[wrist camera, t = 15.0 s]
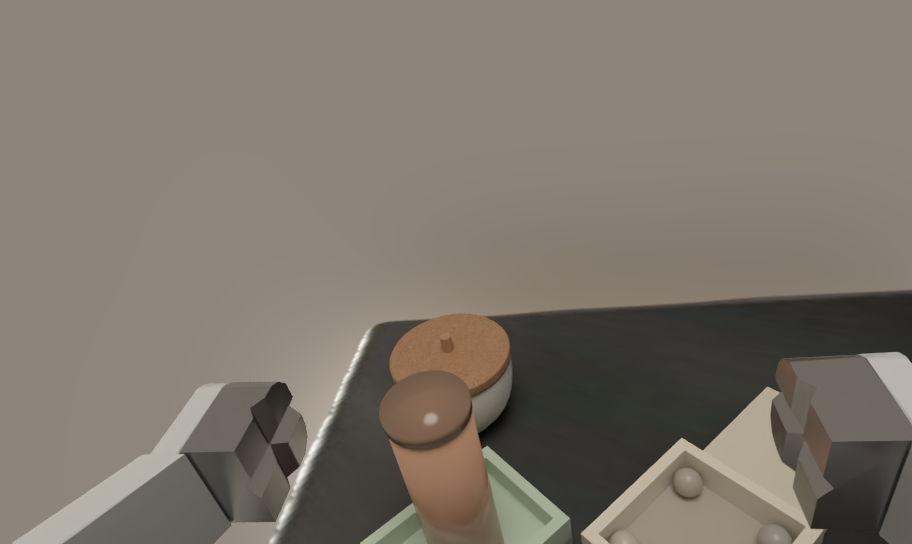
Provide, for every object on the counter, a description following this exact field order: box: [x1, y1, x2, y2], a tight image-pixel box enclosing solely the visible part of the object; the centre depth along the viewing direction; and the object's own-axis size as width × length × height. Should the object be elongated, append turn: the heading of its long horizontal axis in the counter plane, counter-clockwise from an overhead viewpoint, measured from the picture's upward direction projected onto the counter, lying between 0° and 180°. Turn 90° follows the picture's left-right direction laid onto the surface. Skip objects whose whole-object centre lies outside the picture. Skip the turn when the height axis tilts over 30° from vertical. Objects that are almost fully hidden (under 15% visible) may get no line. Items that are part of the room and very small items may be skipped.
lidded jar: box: [389, 314, 512, 433], centre depth 50 cm, size 11×11×9 cm
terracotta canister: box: [379, 370, 504, 544], centre depth 36 cm, size 5×5×15 cm
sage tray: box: [360, 446, 573, 544], centre depth 40 cm, size 12×9×3 cm
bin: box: [581, 387, 827, 544], centre depth 39 cm, size 22×10×4 cm, turn 127°
